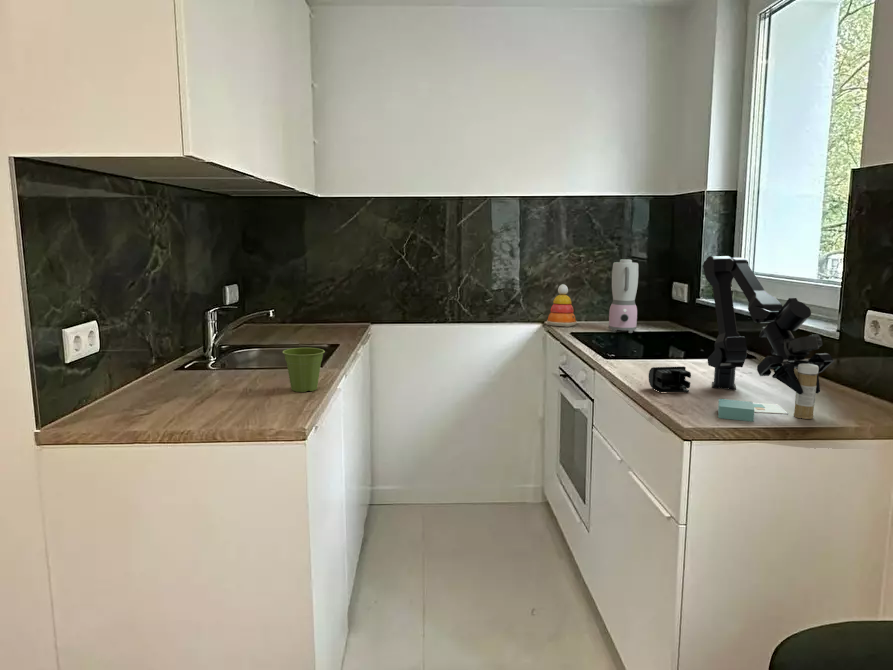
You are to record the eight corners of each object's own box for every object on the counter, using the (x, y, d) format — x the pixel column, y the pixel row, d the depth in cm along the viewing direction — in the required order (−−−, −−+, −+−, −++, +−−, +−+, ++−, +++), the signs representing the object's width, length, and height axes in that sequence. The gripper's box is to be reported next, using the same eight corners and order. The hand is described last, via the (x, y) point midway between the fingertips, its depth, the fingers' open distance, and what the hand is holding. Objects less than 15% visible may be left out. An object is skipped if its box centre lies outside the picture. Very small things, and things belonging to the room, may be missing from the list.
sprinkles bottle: (796, 413, 174) (801, 362, 171) (815, 417, 171) (821, 364, 168) (790, 417, 170) (795, 364, 168) (810, 421, 167) (815, 367, 165)
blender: (607, 328, 313) (610, 258, 308) (634, 329, 311) (638, 259, 306) (609, 333, 297) (613, 260, 292) (638, 334, 295) (642, 261, 290)
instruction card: (730, 402, 184) (730, 401, 184) (777, 405, 182) (777, 403, 182) (738, 411, 175) (738, 410, 175) (788, 414, 173) (788, 413, 173)
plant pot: (325, 393, 190) (324, 354, 188) (282, 395, 188) (280, 355, 186) (325, 384, 201) (325, 346, 199) (284, 385, 199) (283, 347, 197)
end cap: (678, 386, 202) (680, 364, 201) (691, 392, 195) (692, 369, 194) (647, 387, 200) (648, 365, 199) (658, 393, 193) (660, 370, 192)
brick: (717, 409, 176) (718, 398, 176) (751, 413, 174) (752, 401, 173) (718, 418, 169) (719, 406, 169) (753, 421, 166) (754, 409, 166)
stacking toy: (573, 328, 312) (575, 286, 309) (543, 326, 317) (544, 285, 314) (579, 324, 325) (580, 283, 322) (549, 322, 330) (551, 282, 327)
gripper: (768, 324, 168) (796, 377, 159) (831, 322, 173) (862, 374, 164) (745, 349, 177) (770, 401, 168) (806, 347, 181) (834, 397, 173)
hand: (810, 393), depth 168 cm, fingers open, 5 cm apart
